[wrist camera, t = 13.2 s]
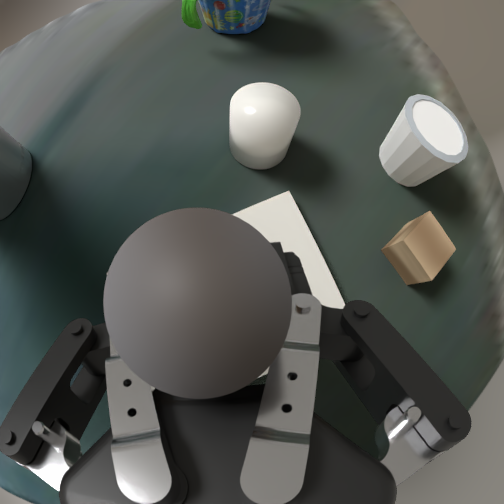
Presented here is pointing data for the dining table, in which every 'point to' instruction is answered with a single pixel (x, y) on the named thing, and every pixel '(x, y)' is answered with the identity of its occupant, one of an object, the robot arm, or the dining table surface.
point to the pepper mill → (197, 303)
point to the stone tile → (294, 243)
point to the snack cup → (226, 14)
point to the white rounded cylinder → (262, 124)
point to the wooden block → (419, 249)
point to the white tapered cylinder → (422, 142)
